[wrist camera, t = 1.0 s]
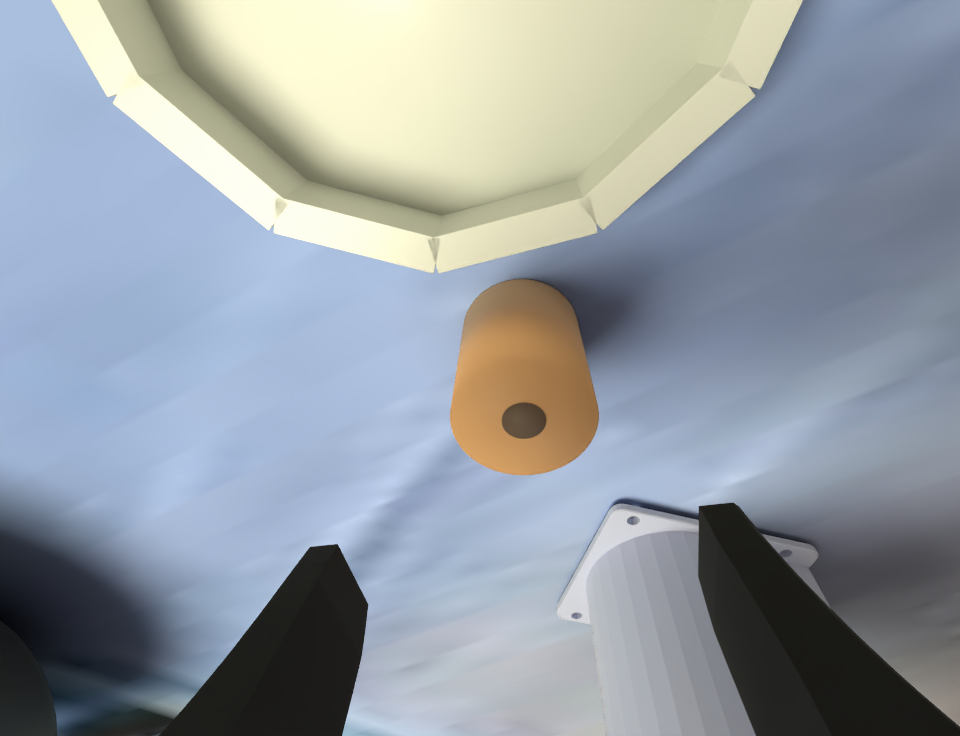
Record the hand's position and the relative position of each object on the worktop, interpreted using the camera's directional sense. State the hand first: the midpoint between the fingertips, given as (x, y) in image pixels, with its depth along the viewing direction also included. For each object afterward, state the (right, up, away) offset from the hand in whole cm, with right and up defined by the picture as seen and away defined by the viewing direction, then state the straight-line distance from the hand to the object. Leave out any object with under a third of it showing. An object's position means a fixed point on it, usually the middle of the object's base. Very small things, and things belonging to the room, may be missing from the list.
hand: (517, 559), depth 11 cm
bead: (+1, +5, +8) cm, 9 cm away
